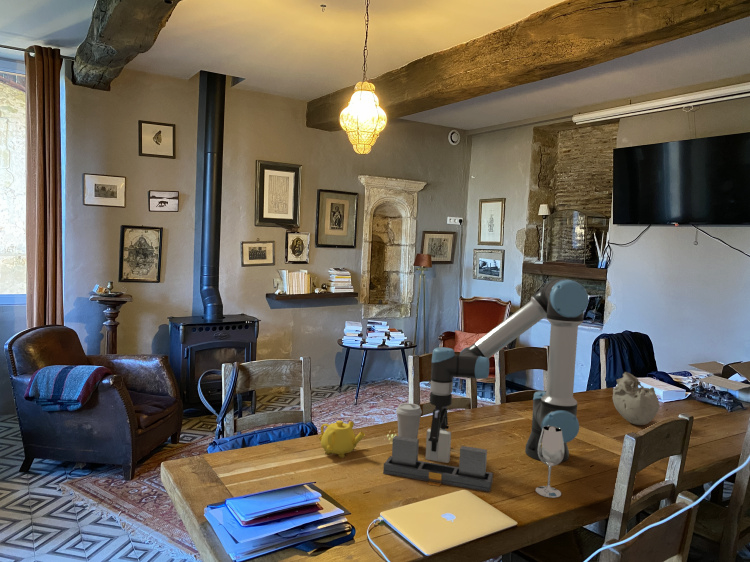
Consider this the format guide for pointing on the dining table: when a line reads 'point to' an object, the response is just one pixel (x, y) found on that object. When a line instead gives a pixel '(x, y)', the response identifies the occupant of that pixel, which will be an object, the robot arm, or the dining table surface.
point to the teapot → (339, 438)
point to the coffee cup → (408, 420)
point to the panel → (440, 446)
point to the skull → (635, 400)
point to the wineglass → (550, 456)
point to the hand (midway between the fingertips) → (437, 453)
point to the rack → (439, 466)
